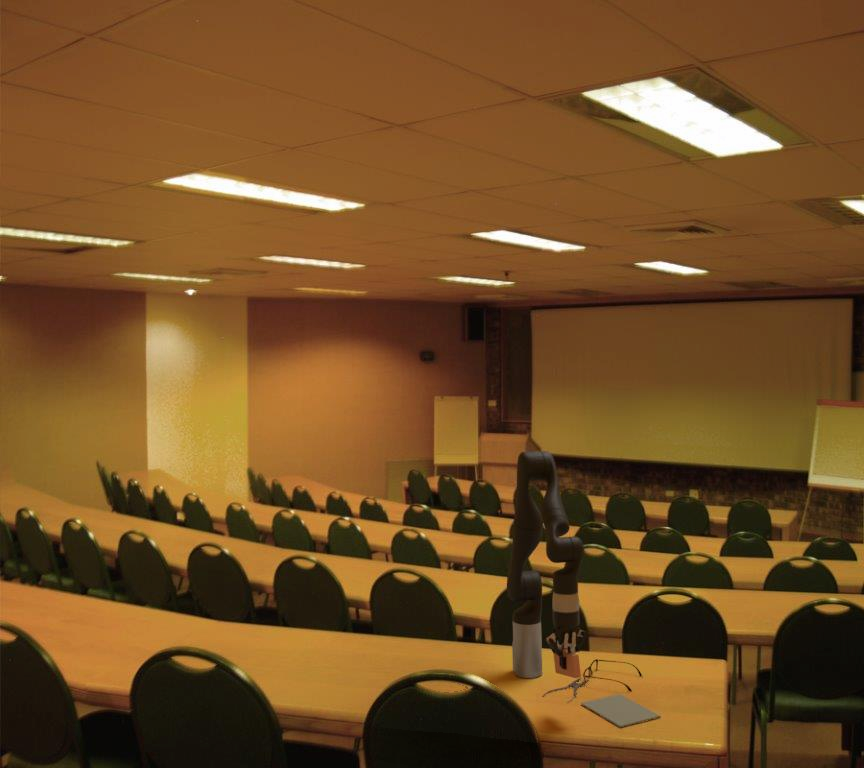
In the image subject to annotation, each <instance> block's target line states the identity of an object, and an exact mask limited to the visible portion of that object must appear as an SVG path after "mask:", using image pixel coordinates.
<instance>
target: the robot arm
mask: <svg viewBox="0 0 864 768" xmlns="http://www.w3.org/2000/svg"><path fill="white" fill-rule="evenodd" d="M516 463H517V464H516V499H515V509H514V517H513V529H512V541H511V542H512V545H511V553H510V554H511V555H510V561H509V564H508V565H509V567H508V572H507V577H506V578H507V579H506V592H507V596H508V598H509V599H510V601H512V602H524V601H525V603H524V604H523V605H522V606H520V607H518V608H517V609H515V610H514V611H513V612H512V642H511V647H512V648H511V650H512V651H511V652H512V671H513V674H514V675H515V677H518V678H524V679H535V678H539V677H541V676H542V675H543V649H542V648H543V647H542V645H543V644H542V641H543V639H542V611H543V604H542V603H543V582H542V577H541V575H540V573H539V572H538V571H537V570H525V571H524V567H525V565H526V562H527V561H528V559H529V558H530V556H531V555H532V554H533V553H534V552H535V550H536V548H537V547H538V546H539V545H540V543H541V541H542V536H543V526H544V529H545V537H546V541H545V542H546V543H545V554H546V557H547V558H548V561H550V562H552V563H554V564H563V563H567V564H566V566H564V567H563V568H560V569H557V570H555V571H553V574H552V601H551V602H552V605H551V607H552V608H551V609H552V624H553V629H552V631H551V632H552V634H550V635H549V636H545V638H544V639H545V642H546V643H547V645H548V647H549V648H550V650H551V652H552V654H553V653H554V654H556V655H558V656H559V665H560V667H561V668H562V669H564V670H566V669H567V664H566V655H567V652H568V653H573V654H576V653H580V651H581V650H582V648H583V645H584V643H585V641H586V638H587V636H588V632H586V631H584V630H582V629H581V628H580V626H579V625H580V624H581V623H580V596H579V576H580V575H579V573H580V571H581V570H580V568H581V565H582V562H583V557H584V550H585V548H584V547H585V546H584V543H583V541H582V539H581V538H579V537H578V536H565V535H566V534H568V532H569V531H570V522H569V520H568V516H567V514H566V510H565V508H564V505H563V501H562V496H561V490H560V482H559V478H558V471H557V466H556V462H555V459H554V456H553V455H552V452H549V451H546V450H536V451H534V450H532V451H531V450H530V451H529V450H527V451H522V452H520V453H519V455H518V458H517V462H516ZM541 481H542V482H543V481H544V482H546V486H547V487H546V490H545V494H544V496H543V498H542V501H541V505H540V508H539V507H538V505H537V504H536V502H535V501H534V499H533V497H532V494H531V491H530V482H541ZM556 642H557V643H556ZM554 654H553V655H554Z"/></svg>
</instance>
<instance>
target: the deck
mask: <svg viewBox="0 0 864 768" xmlns="http://www.w3.org/2000/svg"><path fill="white" fill-rule="evenodd" d="M552 654H553V661H554V669H555V673H556V674H559V675H562V676H567V677H569V678H573V679H579V678H582V675H581V665H580V657H579V654H576V653H575V654H573V653H568V652H567V655H566V664H567V669H566V670H564V669H562V668H561V667H560V665H559V656H558V655H556V654H554V653H553V652H552Z"/></svg>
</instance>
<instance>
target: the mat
mask: <svg viewBox="0 0 864 768" xmlns="http://www.w3.org/2000/svg"><path fill="white" fill-rule="evenodd" d="M580 704H582V705H584V706H585V707H587V708H589V709H590V710H592V711H594V712H595V713H594V712H593V713H594V714H596V713H597V714H599V715H601V716H602V717H604V718H605V719H604V718H603V719H604V720H606V719H607V720H609V721H610V723H611V722H612V723H614V724H615V725H614V724H613V725H614V726H616V725H617V726H616V727H618V728H619V727H620V728H619V729H622V728H621V727H623V728H625V727H624V726H627V727H629V726H628V725H631V726H633V725H632V724H635V725H637V724H636V723H639V724H641V723H640V722H642V721H646V720H650V719H654V718H658V717H660V718H661V715H660V714H658V713H656V712H654V711H653V710H650V709H649V708H647V707H644V706H643V705H642V704H640V703H637V702H636V701H634V700H632V699H630V698H628V697H626V696H624V695H622V694H620V693H617V694H613V695H610V696H604V697H601V698H596V699H592V700H587V701H584V702H580ZM582 705H581V706H582ZM584 706H583V707H584ZM585 707H584V708H585ZM587 708H586V709H587ZM589 709H588V710H589ZM590 710H589V711H590ZM592 711H591V712H592ZM597 714H596V715H597ZM599 715H598V716H599ZM601 716H600V717H601ZM602 717H601V718H602ZM658 719H659V718H658ZM607 720H606V721H607ZM654 720H655V719H654ZM609 721H608V722H609ZM650 721H651V720H650ZM646 722H647V721H646ZM612 723H611V724H612ZM642 723H643V722H642Z"/></svg>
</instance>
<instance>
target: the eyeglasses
mask: <svg viewBox="0 0 864 768" xmlns="http://www.w3.org/2000/svg"><path fill="white" fill-rule="evenodd" d="M599 662H607V663H608V662H609V663H610V662H611V663H618V661H616V660H606V659H605V660H603V659H598V658H596V659H593V661H592V662H591V663H590V665H589V666H588V667H587V668H585V669H584V671H583V674H582V677H583V680H584V681H583V682H586V680H587V679H586V678H589V679H590V678H592V679H600V680H606V681H607V680H609V681H614V682H617V683H620V684H622V685H624V686H625V688H627V690H628V692H629V691H633V690H632V689H631V688H630V686H629V685H627V684H626V683H624V682H622V681H618V680H616V679H609V678H604V677H597V676H591V675H592V674H594V673H593V672H594V671H593V670H592V665H593V664H594V663H596V664H595V665H596V666H595V667H596V668H595V671H596V670H597V671H598V666H599V665H598V663H599ZM621 663H623V664H628V665H630V666H632V667H634V668H635V669H636V671H637V672H638V676H639V677H640V676H642V677H643V675H642V673H641V671H640V669H639V668H638V667H636V665H634V664H632V663H629V662H624V661H620V664H621ZM587 670H588V675H586V672H587Z"/></svg>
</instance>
